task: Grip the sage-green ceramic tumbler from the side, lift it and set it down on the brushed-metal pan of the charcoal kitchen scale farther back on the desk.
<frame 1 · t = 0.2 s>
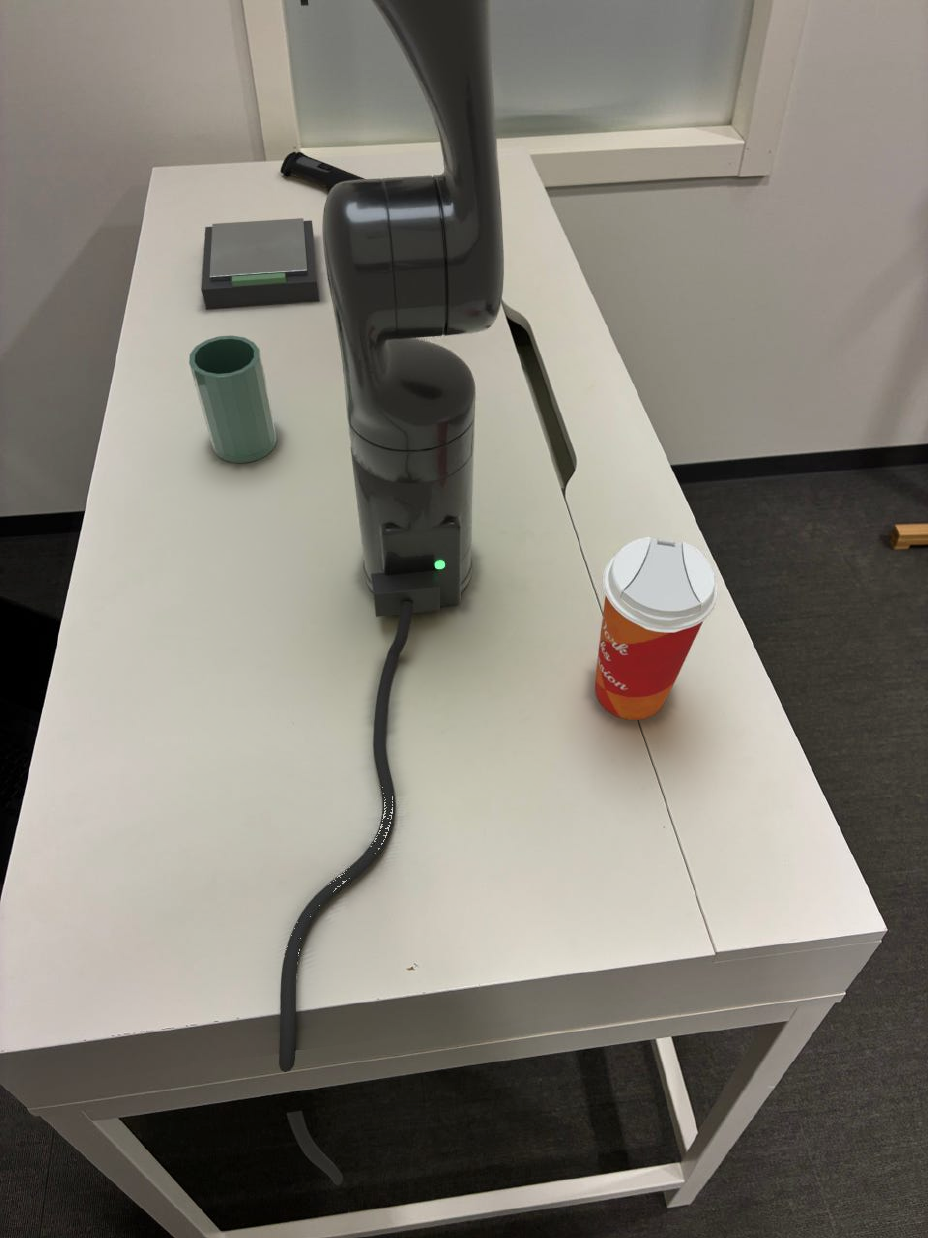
hand: (351, 1, 81), 29 cm above the table, tool pointing down, fingers open, 8 cm apart
paper cup: (629, 692, 69), on the table
tumbler: (244, 442, 87), on the table
scale: (262, 272, 106), on the table
electric trimmer: (330, 187, 120), on the table
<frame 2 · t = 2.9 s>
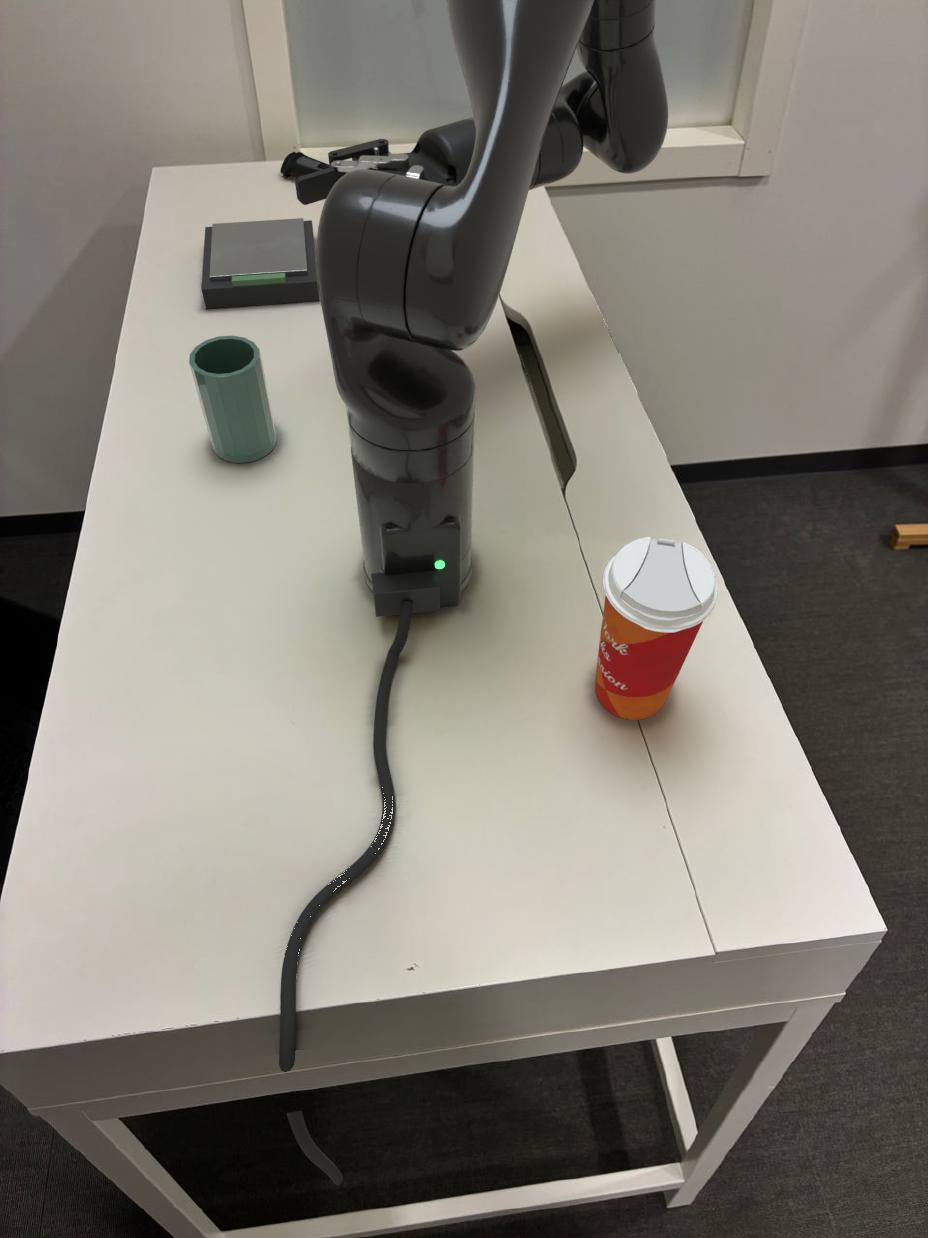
hand: (321, 212, 75), 20 cm above the table, tool horizontal, fingers open, 8 cm apart
nothing on the table moved.
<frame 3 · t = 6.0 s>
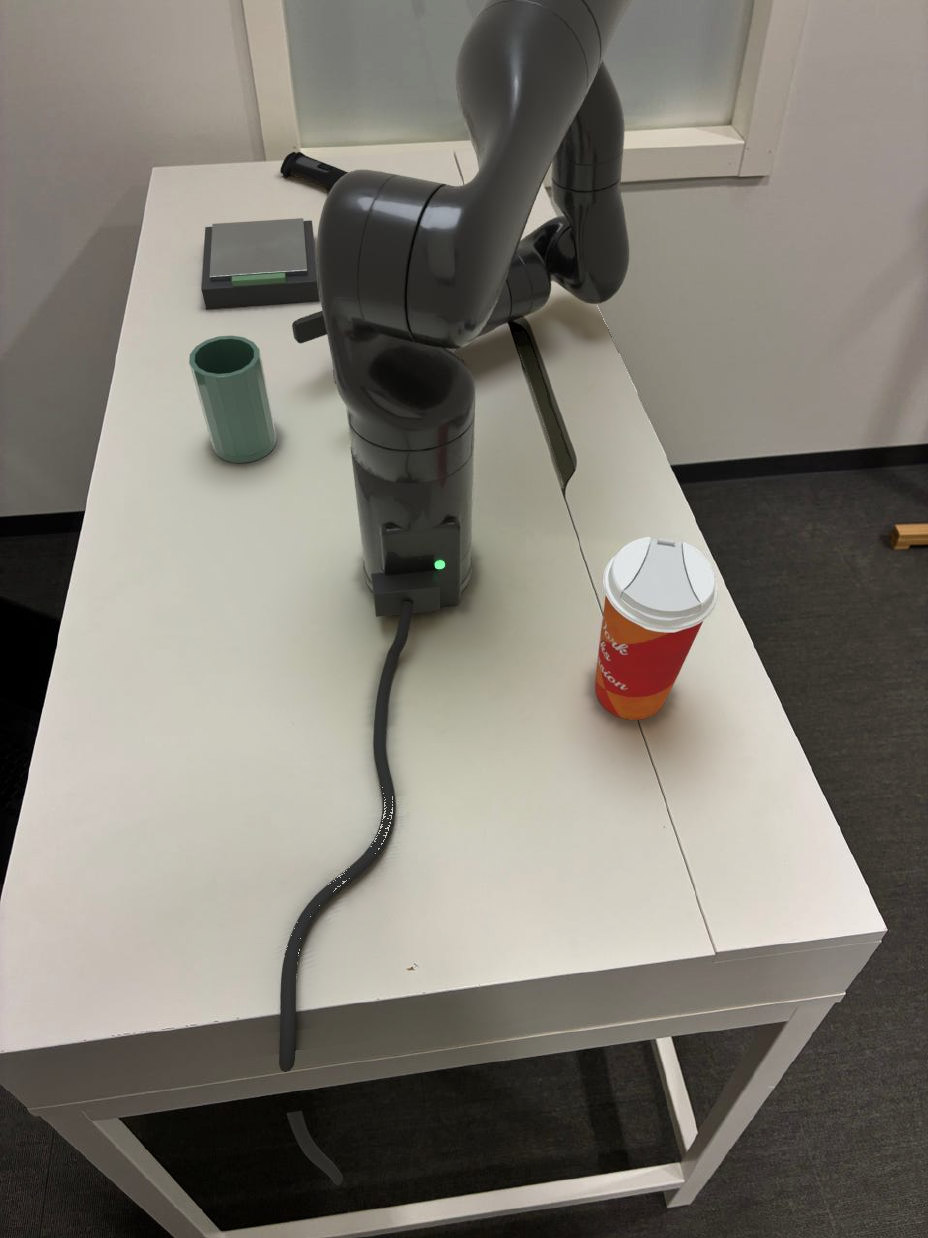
hand: (314, 355, 85), 7 cm above the table, tool horizontal, fingers open, 8 cm apart
nothing on the table moved.
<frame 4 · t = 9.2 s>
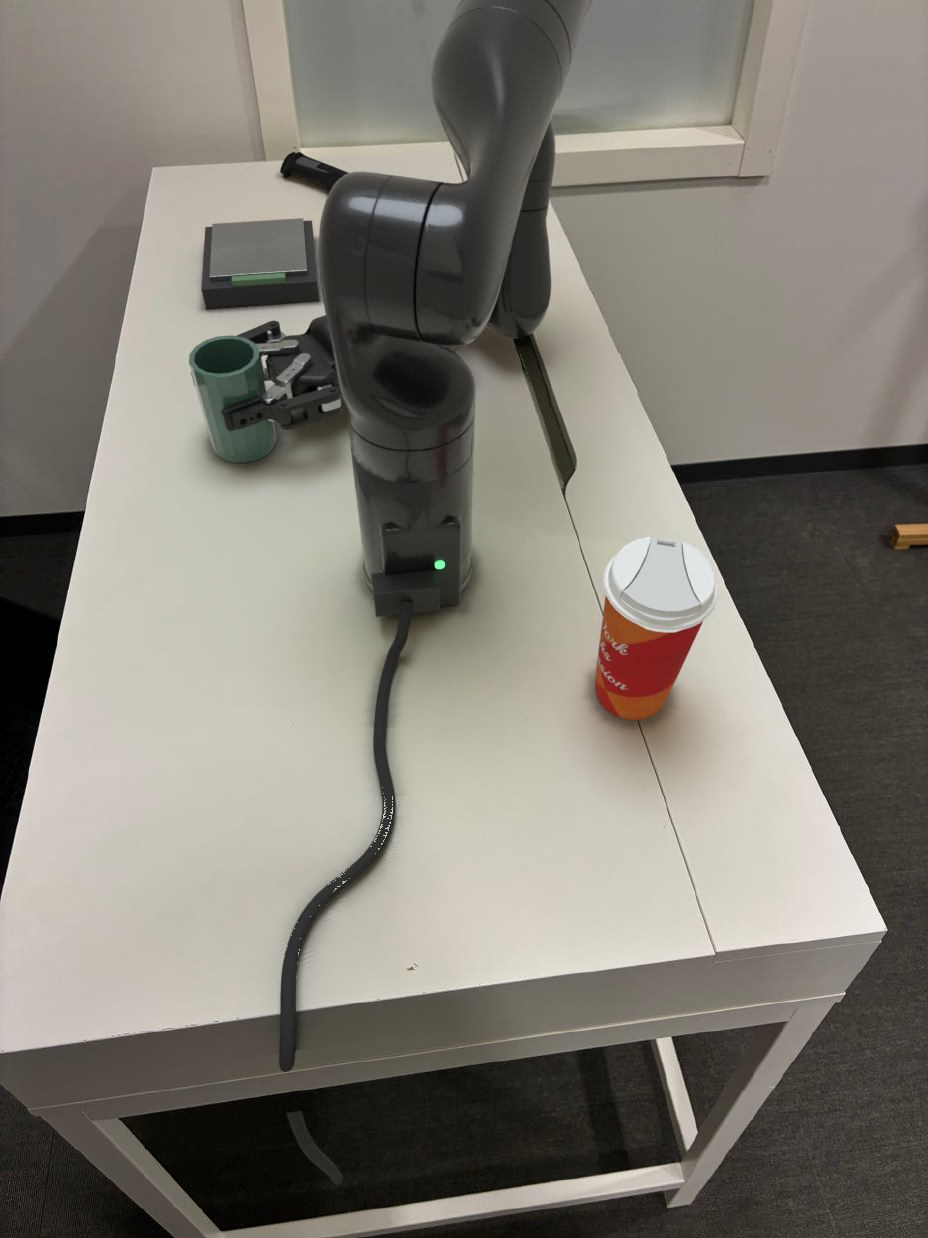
hand: (209, 400, 81), 6 cm above the table, tool horizontal, fingers closed on tumbler, 6 cm apart
tumbler: (244, 442, 87), on the table, touching gripper
everything else where it was.
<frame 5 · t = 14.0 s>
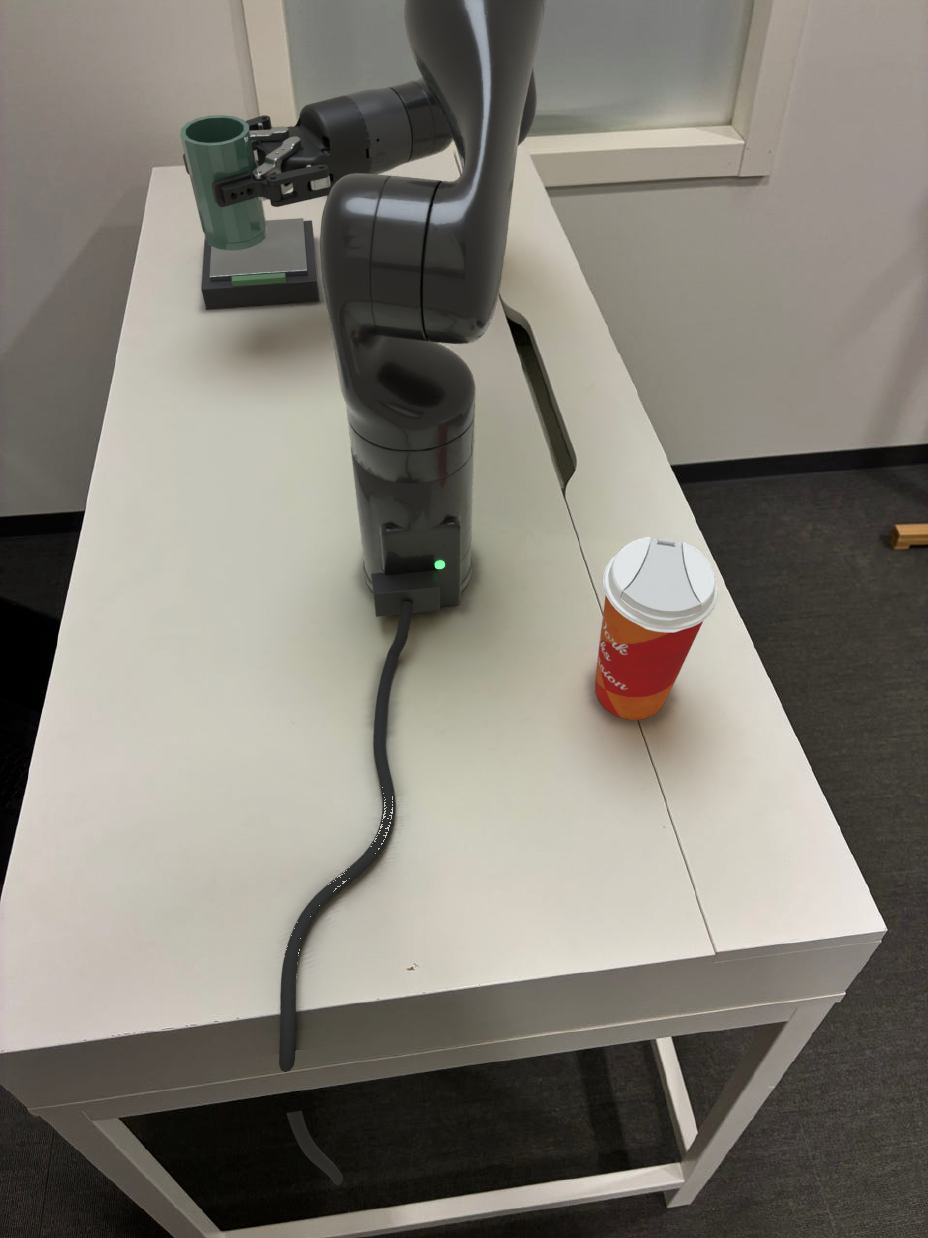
hand: (200, 179, 83), 18 cm above the table, tool horizontal, fingers closed on tumbler, 6 cm apart
tumbler: (236, 234, 88), point 12 cm above the table, touching gripper
everything else where it was.
when the fingers open (9 cm above the table, at t = 18.8 s): tumbler stays where it is, resting on scale.
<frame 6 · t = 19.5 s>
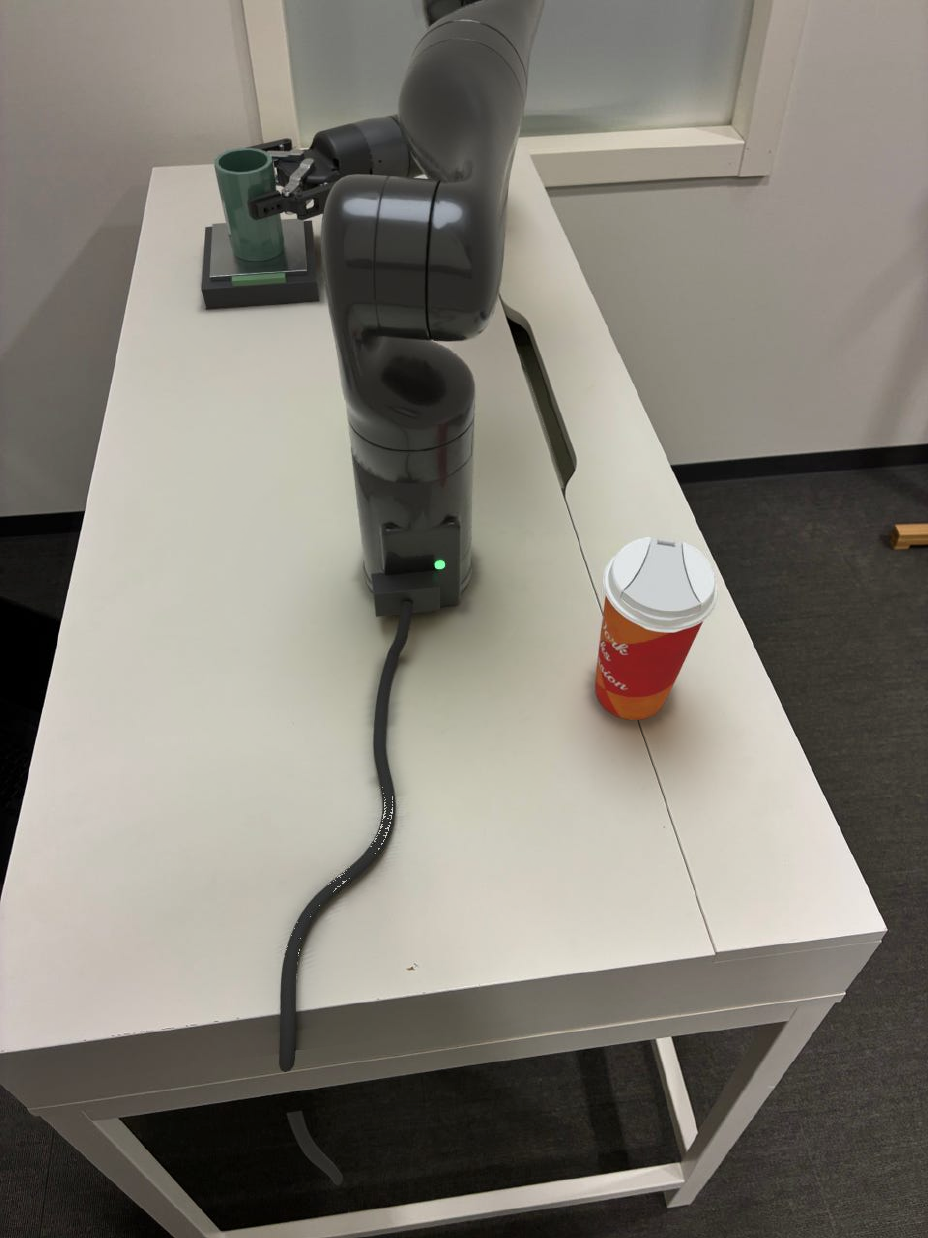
hand: (233, 193, 98), 10 cm above the table, tool horizontal, fingers open, 8 cm apart
tumbler: (258, 247, 104), point 3 cm above the table, touching scale
everything else where it was.
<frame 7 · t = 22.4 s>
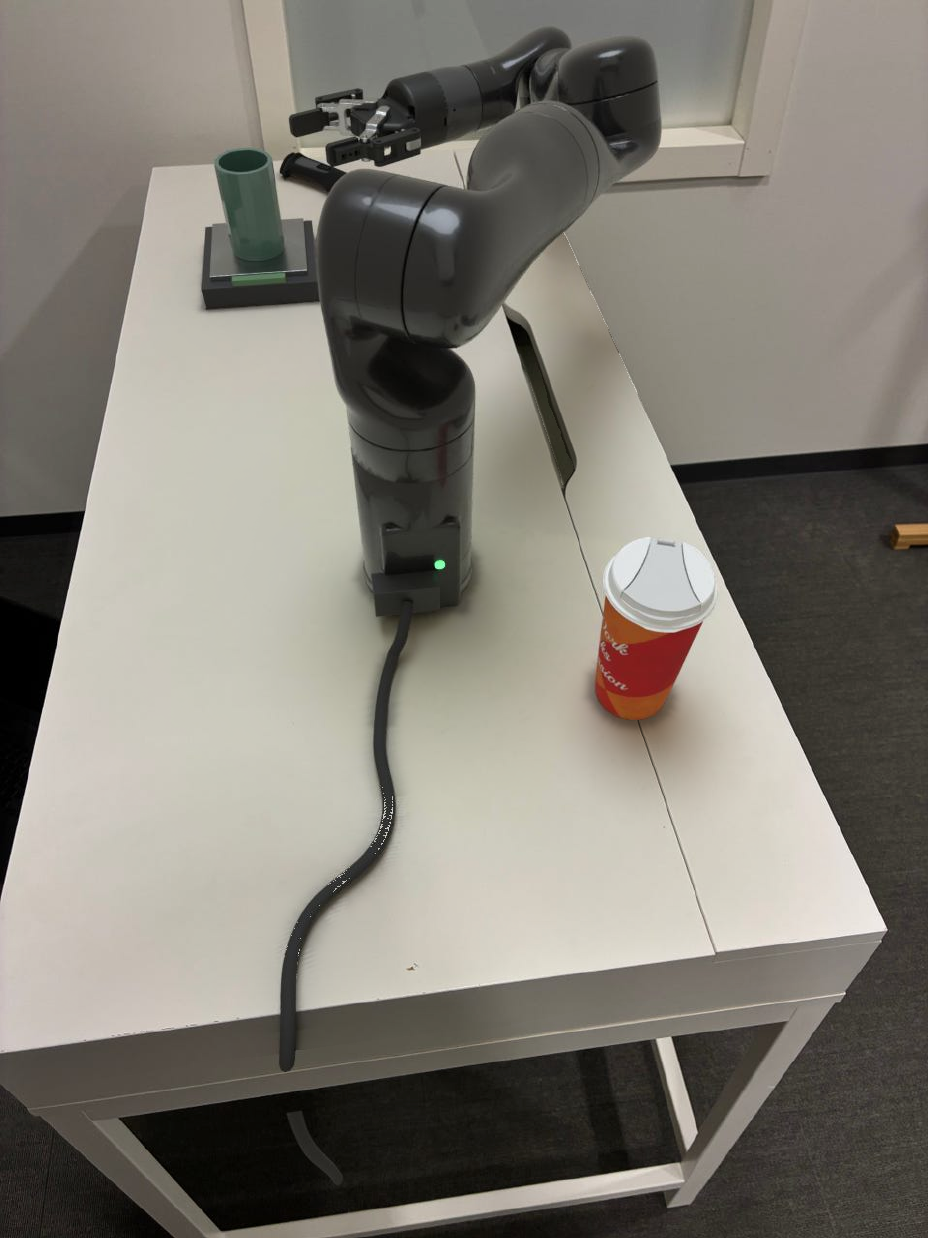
hand: (308, 141, 96), 14 cm above the table, tool horizontal, fingers open, 8 cm apart
nothing on the table moved.
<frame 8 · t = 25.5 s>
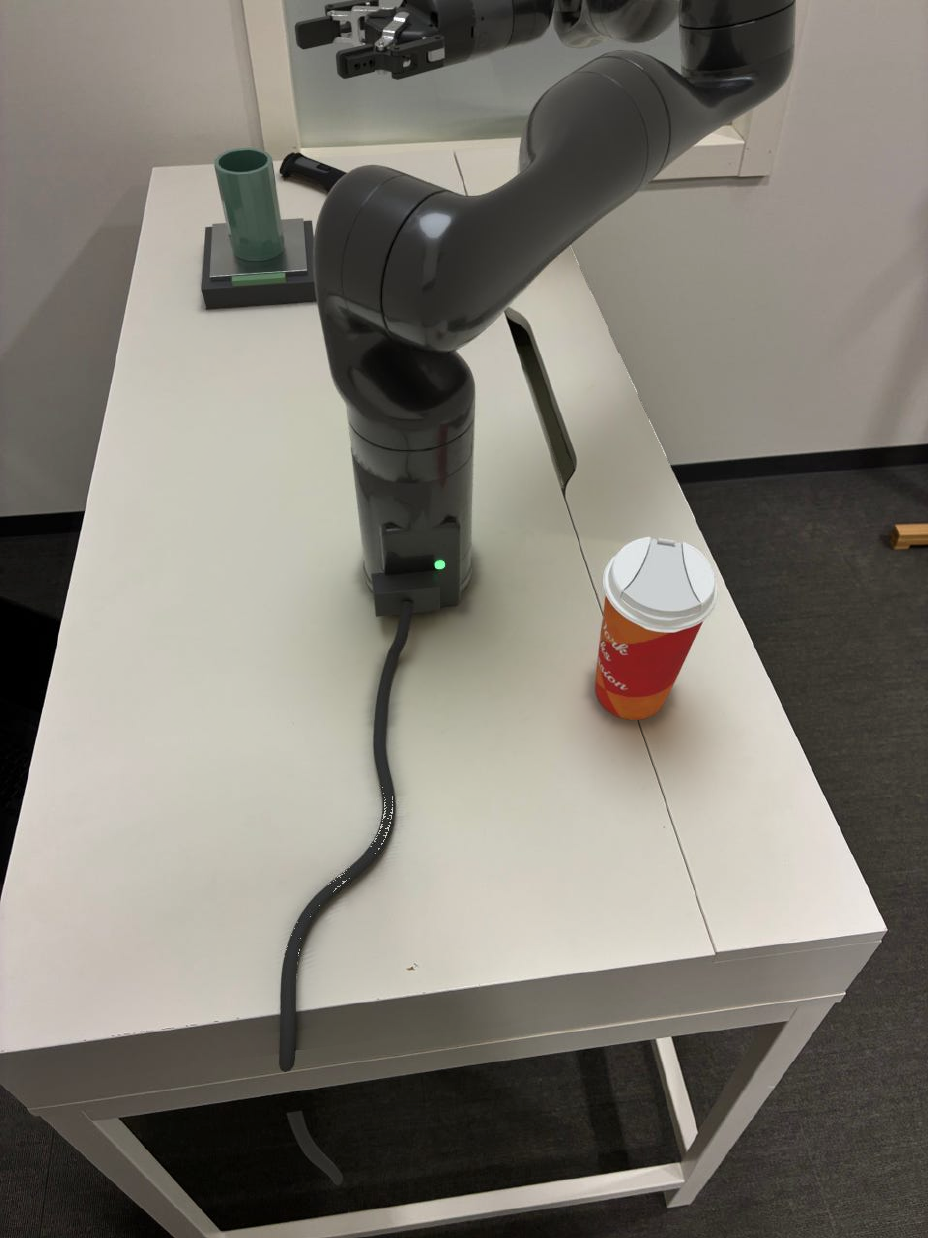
hand: (317, 50, 84), 25 cm above the table, tool horizontal, fingers open, 8 cm apart
nothing on the table moved.
at the end: tumbler inside the target area on the scale (0.2 cm from its centre), point 3.1 cm above the scale's base; tumbler tilted 0°; the gripper is holding nothing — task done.
